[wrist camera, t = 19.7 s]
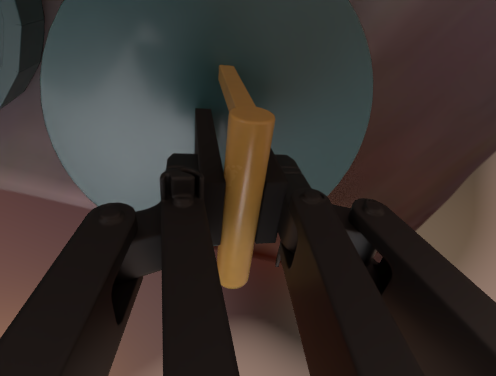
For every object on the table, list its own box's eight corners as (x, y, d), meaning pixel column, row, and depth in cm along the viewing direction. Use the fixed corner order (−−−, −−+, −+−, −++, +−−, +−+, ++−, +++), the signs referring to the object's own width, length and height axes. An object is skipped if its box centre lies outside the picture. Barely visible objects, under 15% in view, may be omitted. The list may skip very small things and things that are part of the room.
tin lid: (84, 239, 20) (32, 375, 13) (-7, -113, 10) (-351, -277, 4) (322, 231, 23) (378, 335, 16) (412, -40, 14) (628, -57, 7)
